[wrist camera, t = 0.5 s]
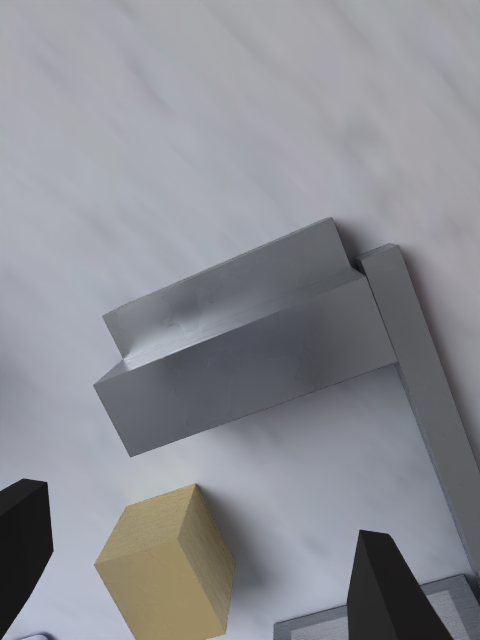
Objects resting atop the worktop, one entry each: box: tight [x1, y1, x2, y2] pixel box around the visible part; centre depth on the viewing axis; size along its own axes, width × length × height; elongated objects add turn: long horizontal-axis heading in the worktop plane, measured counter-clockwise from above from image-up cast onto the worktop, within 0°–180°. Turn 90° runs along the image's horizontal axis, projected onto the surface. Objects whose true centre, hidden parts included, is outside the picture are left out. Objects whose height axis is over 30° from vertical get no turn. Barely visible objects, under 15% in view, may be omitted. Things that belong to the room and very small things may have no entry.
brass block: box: [94, 483, 235, 640], centre depth 20 cm, size 4×5×4 cm
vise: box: [93, 217, 480, 588], centre depth 19 cm, size 12×28×5 cm, turn 23°
